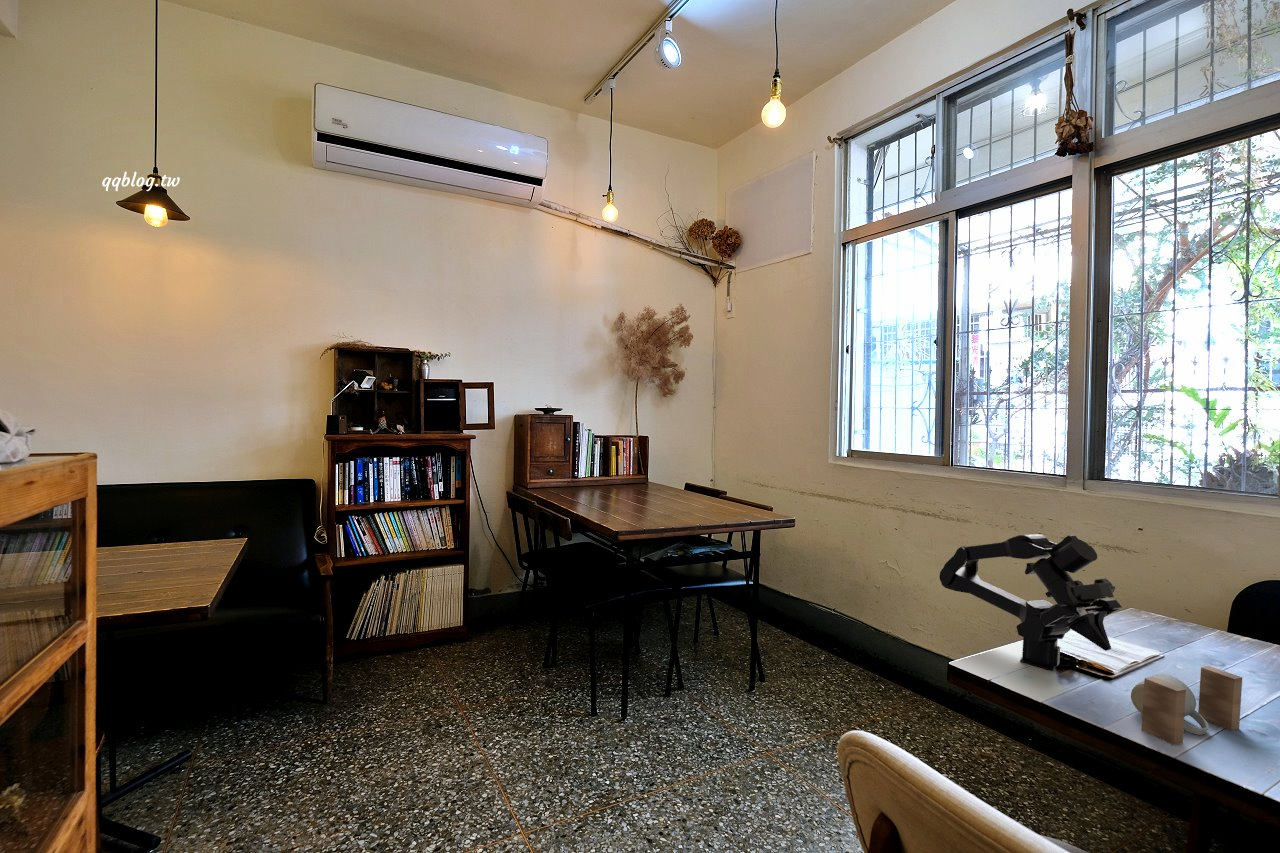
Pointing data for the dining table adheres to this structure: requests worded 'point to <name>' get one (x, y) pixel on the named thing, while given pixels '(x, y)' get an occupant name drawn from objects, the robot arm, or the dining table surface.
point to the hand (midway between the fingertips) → (1108, 649)
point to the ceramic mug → (1189, 703)
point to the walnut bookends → (1169, 704)
